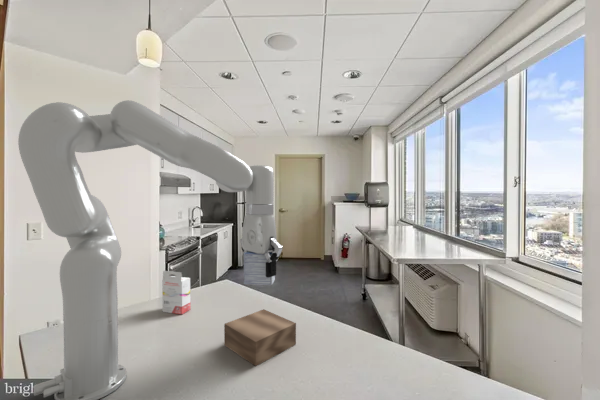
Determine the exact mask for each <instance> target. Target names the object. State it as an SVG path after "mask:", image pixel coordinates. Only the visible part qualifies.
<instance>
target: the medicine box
mask: <svg viewBox="0 0 600 400" xmlns="http://www.w3.org/2000/svg"><path fill="white" fill-rule="evenodd" d="M269 255H270V257H271V255H272V254H269ZM266 262H268V261H267V259H266V257H265V255H264V254H257V253H252V252H248V251H246V252H245V253H244V256H243V284H244V285H263V286H264V285H265V286H266V285H267V286H272V285H273V284H274V282H275V280H276V275H275V276H272V277H266Z"/></svg>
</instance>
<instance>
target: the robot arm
mask: <svg viewBox="0 0 600 400" xmlns="http://www.w3.org/2000/svg"><path fill="white" fill-rule="evenodd" d="M19 129H20V130H19V133H18V137H17V138H18V141H17V142H18V143H17V144H18V151H19V155H20V159H21V162H22V164H23V166H24V169H25V172H26V174H27V176H28V179H29V181H30V183H31V184H30V185H31V188H32V190H33V194H34V195H35V197H36V200H37V203H38V205H39V208H40V211H41V212H42V215H43V218H44V221H45V223H46V226H47V228H48V229H49V230H50V231H51V232H52V233H53V234H55V235H57V237H58V236H59V237H62V238H65V239H66V241H67V243H68V246H69V248H70V249H69V250H68V251H67V252H66V254H65V255H64V257H62V258H63V259H62V260H61V263H60V266H59V283H60V288H61V295H62V297H61V298H62V315H63V316H62V321H63V368H61V369H59V373H60V374H59V375H56V376H54V378H52V379H50V380H47V381H43V382H40V383H37V384H34V385H33V396H34V397H36V396H38V395H41V394H43V398H47V397H50V396H52V395H54V396H53V397H54V400H99V399H103V398H104V397H106V396H108V395H110V394H112V393H113V392H114V391H116V390H117V389H118V388H119V387H120V386H122V384H123V383H124V382H125V381H126V377H127V370H126V368H125V366H123V365H121V364H119V308H118V307H119V306H118V304H119V302H118V301H119V300H118V281H117V280H118V278H117V277H118V276H117V275H118V274H117V271H118V266H119V263H120V261H121V258H122V249H121V248H122V247H121V245H120V241H119V239H118V237H117V234H116V231H115V228H114V225H113V224H112V221H111V218H110V215H109V213H108V210H107V208H106V206H105V205H104V203H103V202H102V201H101V199H99V198H98V197H96V196H95V195H93V194H91V192H90V189H89V188H88V185H87V183H86V180H85V177H84V174H83V171H82V169H81V167H80V164H79V162H78V160H77V156H76V153H82V154H83V153H95V152H100V151H102V152H103V151H107V150H114V149H121V148H126V147H127V148H128V147H132V146H139V147H141V148H143V149H145V150H147V151H149V152H150V153H152V154H154V155H156V156H157V157H160V158H162V159H163V160H165V161H167V162H169V163H171V164H172V165H175V166H176V167H177V166H178V167H181V168H184V169H185V168H186V169H189V170H193V171H195V172H197V173H200V174H201V175H204V176H207V177H208V178H210V179H211V180H213V181H215V184H216V185H217V187H218V188H219V189H220V190H221V191H223V192H227V193H241V192H245V215H244V218H243V219H244V220H243V224H242V233H241V234H242V235H241V236H242V237H241V238H240V240H239V243H240V246H241V250H242V256H243V257H244V253H245V252H246V251H248V252H252V253H257V254H264V255H265V257H266V259H267V261H268V262H266V277H272V276H275V277H276V275H277V261H278V260H279V258H280V257H281V254H282V251H283V245H282V244H280V243H279V242H278V241H277V226H276V219H275V215H274V205H275V204H274V203H275V201H274V196H275V195H274V193H275V191H274V190H275V189H274V187H275V186H274V185H275V184H274V183H275V182H274V181H275V179H274V177H275V176H274V175H275V173H274V169H273V167H272V166H269V165H258V164H257V165H255V164H254V165H250V166H249V165H248V164H247V163H246V162H245V161H244V160H242V159H240V158H239V157H237V156H235V155H234V154H232V153H230V151H228V150H225V149H224V148H222V147H221V146H218V145H216V144H215V143H212V142H209V141H207V140H205V139H203V138H201V137H199V136H197V135H194V134H193V133H190V132H188V131H186V129H183V128H182V127H180V126H178V125H177V124H175V123H173V122H171V121H170V120H169V119H167V118H165V117H163V116H161V115H160V114H158V113H157V112H156V111H153V109H152V110H151V109H150V108H149V107H147V106H145V105H143V104H141V103H140V102H137V101H134V100H122V101H119V102H118V103H117V104H114V106H113V108H112V109H111V111H110V113H107V114H98V115H97V114H96V115H88V113H86V111H84V110H83V109H81V108H79V107H78V106H76V105H74V104H71V103H67V102H61V101H60V102H59V101H58V102H50V103H47V104H45V105H42V106H40V107H38V108H36V109H35V110H34V111H33V112H31V113H30V114H29V115H28V116H27V118H26V119H25V120H24V121H23V123H22V125H21V127H20V128H19ZM269 254H272V255H271V257H270V255H269Z"/></svg>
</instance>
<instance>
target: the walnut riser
mask: <svg viewBox="0 0 600 400" xmlns="http://www.w3.org/2000/svg"><path fill="white" fill-rule="evenodd" d="M223 326H224V327H223V328H224V330H223V331H224V333H223V334H224V339H223V340H224V347H227V348H228V349H229V350H231V351H233V352H234V353H235V354H237V355H239V356H240V357H241V358H243V359H244V360H246V361H247V362H249V363H250V364H252V365H253V366H255V367H257V366H259V365H261V364H262V363H264V362H266V361H268V360H270V359H272V358H274V357H275V356H277V355H279V354H281V353H283V352H284V351H287V350H288V349H290V348H292V347H294V346H295V345H297V323H296V322H294V321H292V320H289V319H288V318H285V317H283V316H280V315H278V314H275V312H274V313H273V312H271V311H268V310H266V309H261V310H258V311H256V312H252V313H250V314H247V315H245V316H241V317H239V318H237V319H233V320H231V321H229V322H226V323H224V325H223Z"/></svg>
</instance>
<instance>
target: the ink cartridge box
mask: <svg viewBox="0 0 600 400" xmlns="http://www.w3.org/2000/svg"><path fill="white" fill-rule="evenodd" d="M182 273H183V272H181V271H171V270H163V271H162V282H161V283H162V292H161V293H162V313H167V314H168V313H169V314H176V315H183V314H185V313H187V312H189V311H190V310H191V309H192V308H191V277H188V276H187V277H185V276H184V277H183V274H182Z"/></svg>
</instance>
